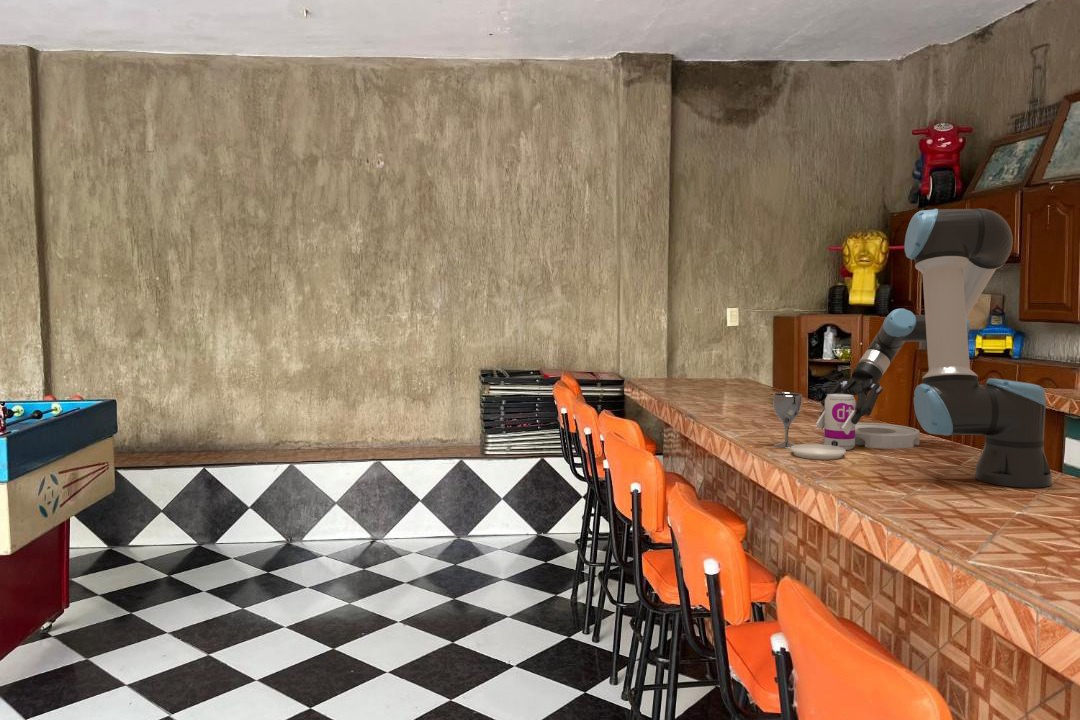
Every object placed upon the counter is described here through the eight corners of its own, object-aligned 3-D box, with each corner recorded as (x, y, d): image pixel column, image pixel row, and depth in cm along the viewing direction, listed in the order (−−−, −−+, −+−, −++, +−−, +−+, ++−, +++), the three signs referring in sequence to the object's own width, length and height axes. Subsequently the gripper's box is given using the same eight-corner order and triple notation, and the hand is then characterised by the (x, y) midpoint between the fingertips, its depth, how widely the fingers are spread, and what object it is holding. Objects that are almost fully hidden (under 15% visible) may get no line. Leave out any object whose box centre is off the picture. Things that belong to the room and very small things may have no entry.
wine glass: (797, 443, 232) (798, 392, 230) (803, 448, 224) (804, 395, 223) (769, 443, 232) (770, 392, 231) (775, 448, 224) (775, 395, 223)
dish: (852, 460, 207) (852, 453, 207) (797, 460, 208) (798, 453, 208) (836, 450, 221) (836, 444, 221) (785, 450, 222) (785, 443, 222)
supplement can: (857, 450, 220) (858, 397, 219) (826, 450, 221) (827, 396, 220) (851, 445, 228) (853, 393, 227) (821, 444, 229) (822, 393, 228)
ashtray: (934, 449, 223) (934, 435, 222) (851, 449, 223) (851, 435, 223) (898, 435, 246) (899, 422, 246) (823, 435, 246) (823, 423, 246)
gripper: (908, 380, 222) (869, 443, 215) (846, 375, 240) (808, 432, 233) (897, 362, 219) (857, 425, 212) (834, 358, 237) (795, 415, 230)
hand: (831, 428), depth 222 cm, fingers closed on supplement can, 8 cm apart
